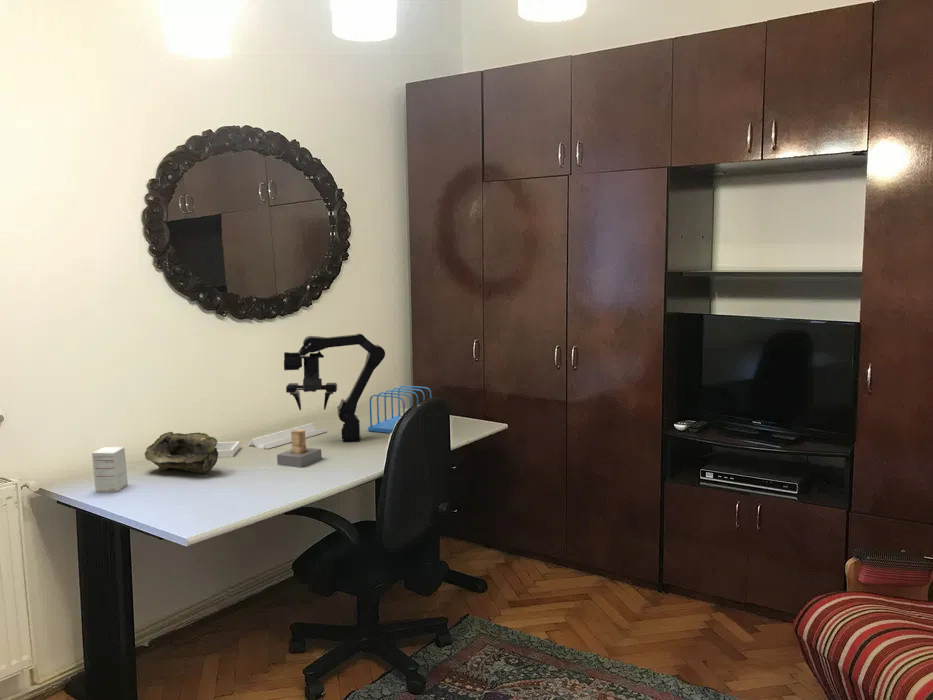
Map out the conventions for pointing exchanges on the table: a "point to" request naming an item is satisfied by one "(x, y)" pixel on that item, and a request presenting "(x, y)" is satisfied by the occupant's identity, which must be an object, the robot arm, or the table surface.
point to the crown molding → (283, 436)
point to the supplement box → (109, 469)
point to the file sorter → (390, 423)
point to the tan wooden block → (298, 441)
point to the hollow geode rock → (184, 452)
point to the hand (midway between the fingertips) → (312, 409)
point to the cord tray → (227, 445)
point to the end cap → (299, 457)
